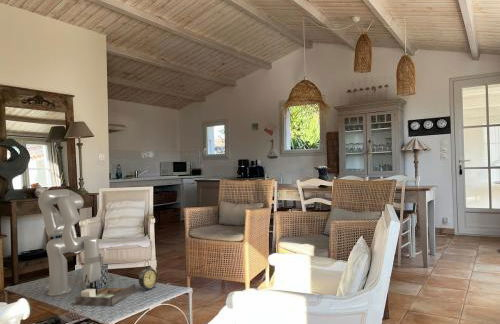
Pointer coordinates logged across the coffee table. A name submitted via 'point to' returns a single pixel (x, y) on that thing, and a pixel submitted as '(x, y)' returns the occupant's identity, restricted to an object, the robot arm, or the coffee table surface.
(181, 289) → the coffee table surface
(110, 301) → the box
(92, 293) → the block
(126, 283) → the coffee table surface
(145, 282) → the alarm clock
